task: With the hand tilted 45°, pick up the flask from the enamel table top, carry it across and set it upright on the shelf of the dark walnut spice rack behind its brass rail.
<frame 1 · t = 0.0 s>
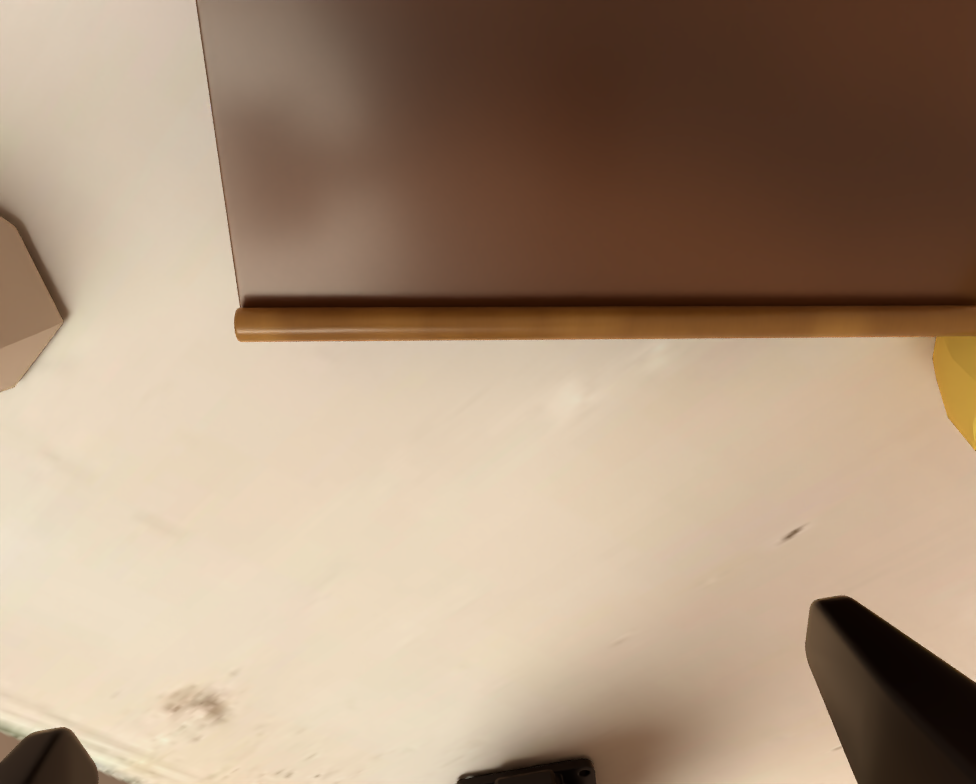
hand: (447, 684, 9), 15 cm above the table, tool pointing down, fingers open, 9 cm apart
spice rack: (612, 75, 19), on the table
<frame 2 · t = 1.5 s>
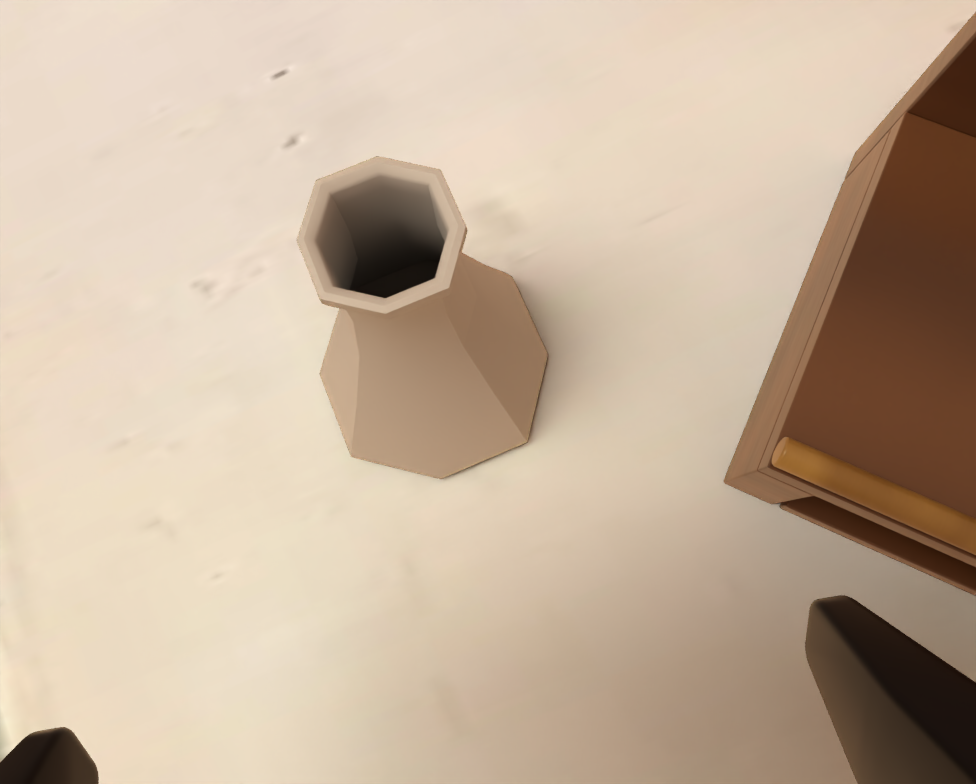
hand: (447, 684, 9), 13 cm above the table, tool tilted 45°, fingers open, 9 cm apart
flask: (435, 368, 24), on the table
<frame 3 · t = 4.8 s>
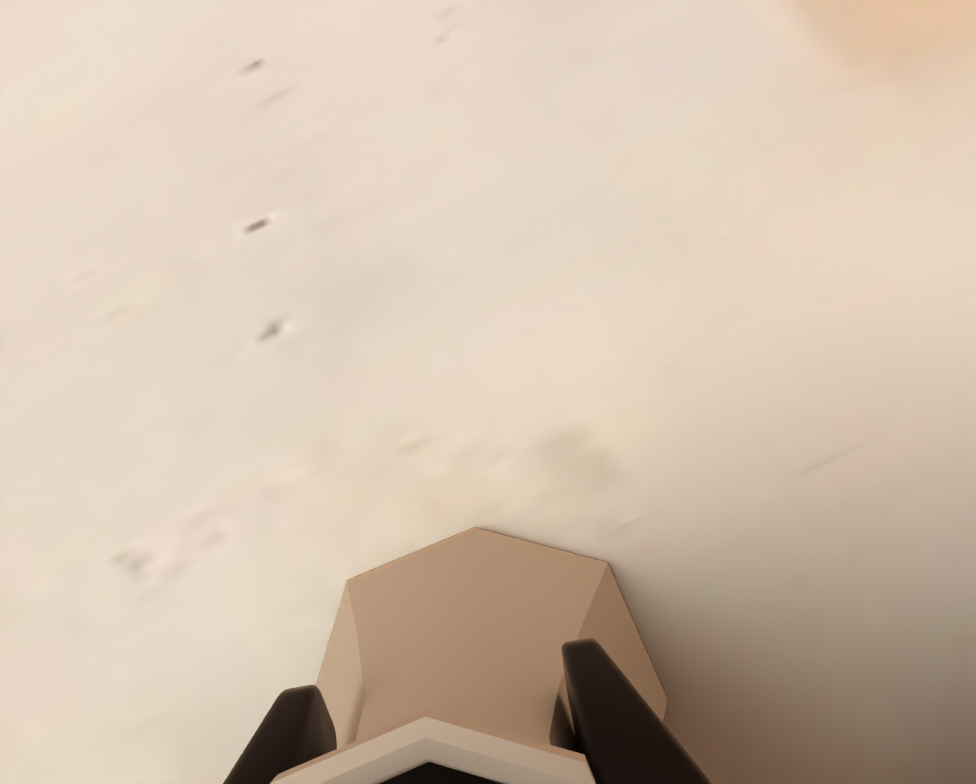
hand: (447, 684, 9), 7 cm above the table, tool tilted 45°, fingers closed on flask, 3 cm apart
flask: (486, 707, 15), on the table, touching gripper
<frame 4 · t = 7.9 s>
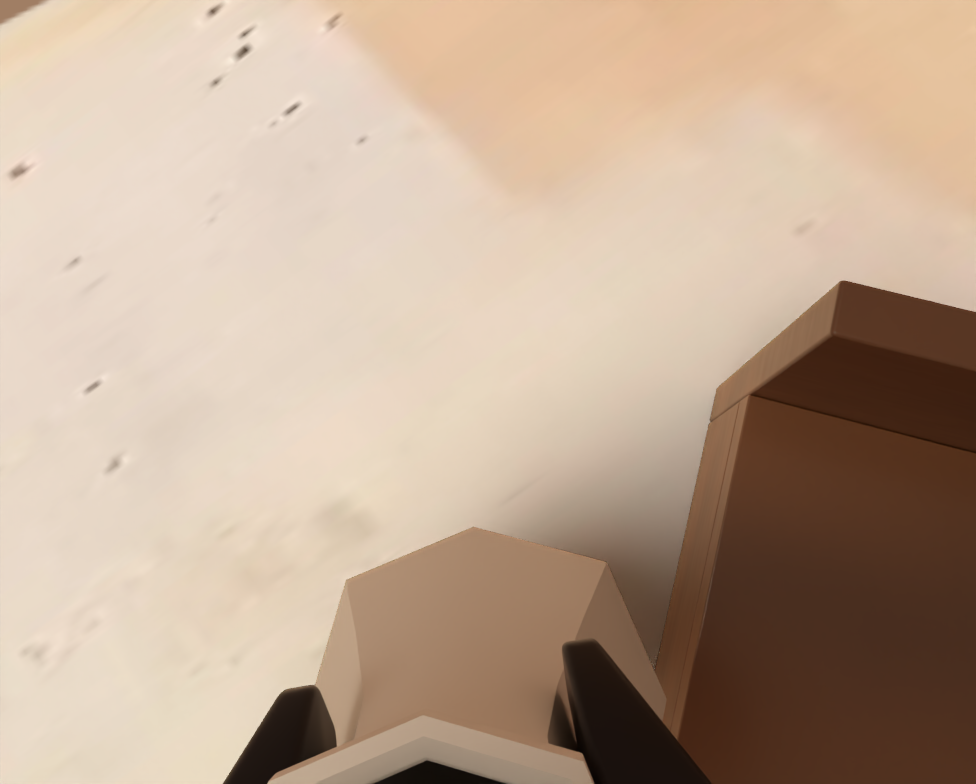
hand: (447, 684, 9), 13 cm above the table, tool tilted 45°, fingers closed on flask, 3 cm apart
flask: (485, 706, 15), point 7 cm above the table, touching gripper
when the fingers open (11 cm above the table, at t = 11.4 s): flask stays where it is, resting on spice rack.
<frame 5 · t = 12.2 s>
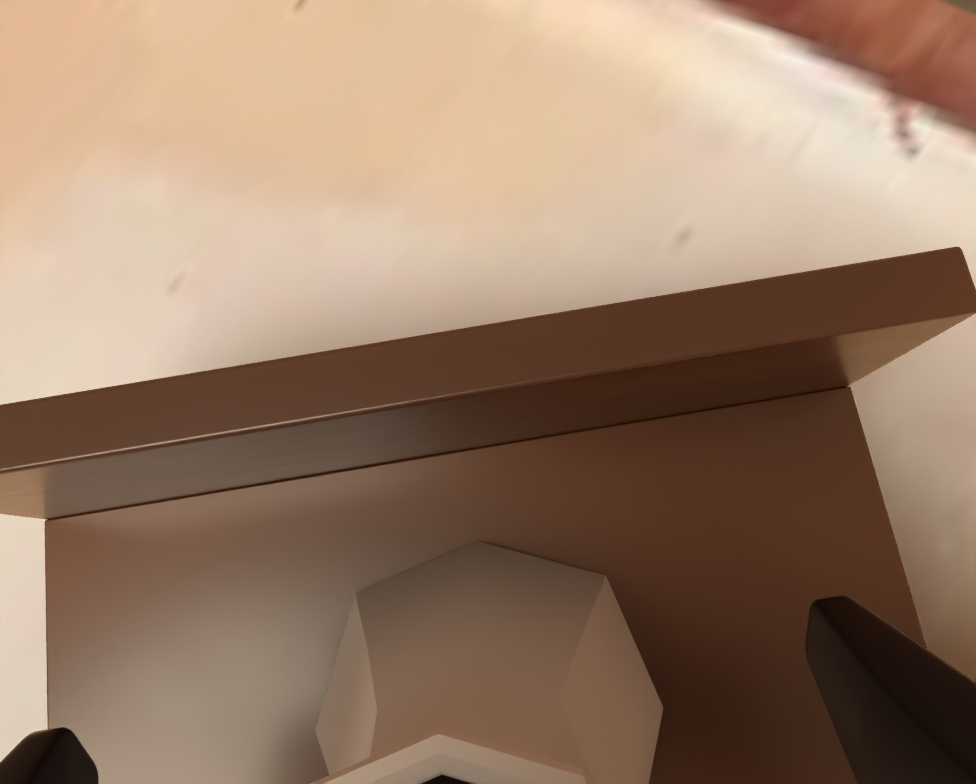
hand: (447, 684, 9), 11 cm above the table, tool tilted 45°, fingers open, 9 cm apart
spice rack: (492, 680, 19), on the table
flask: (489, 714, 16), point 4 cm above the table, touching spice rack
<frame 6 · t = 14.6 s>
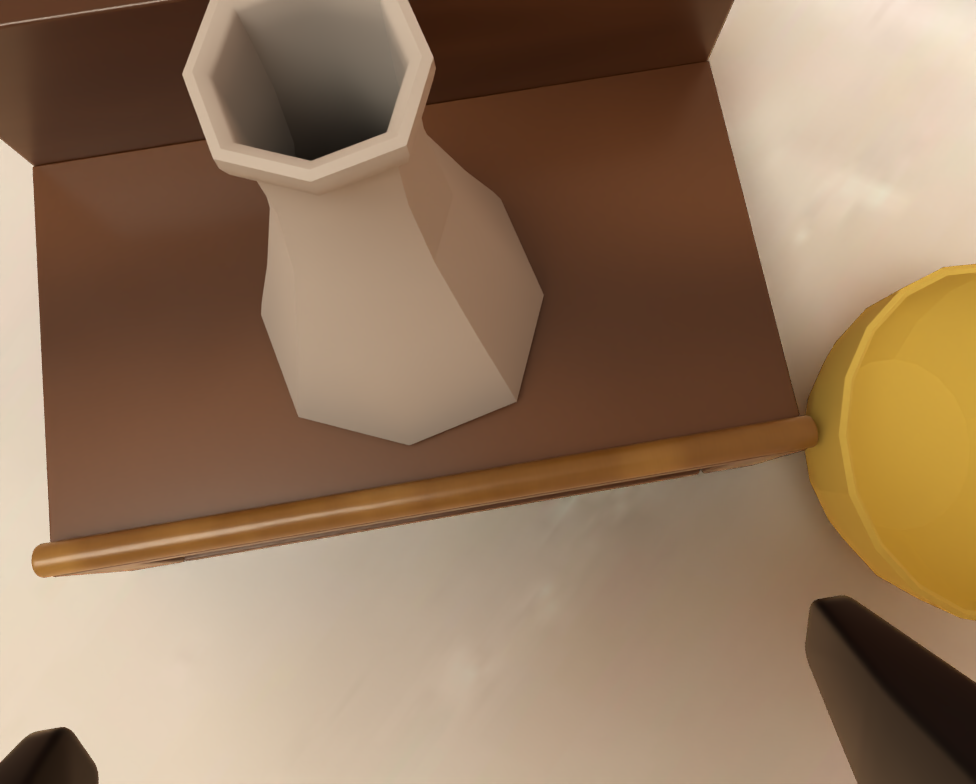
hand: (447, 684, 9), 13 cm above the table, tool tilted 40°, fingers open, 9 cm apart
spice rack: (418, 341, 23), on the table
flask: (404, 310, 19), point 4 cm above the table, touching spice rack
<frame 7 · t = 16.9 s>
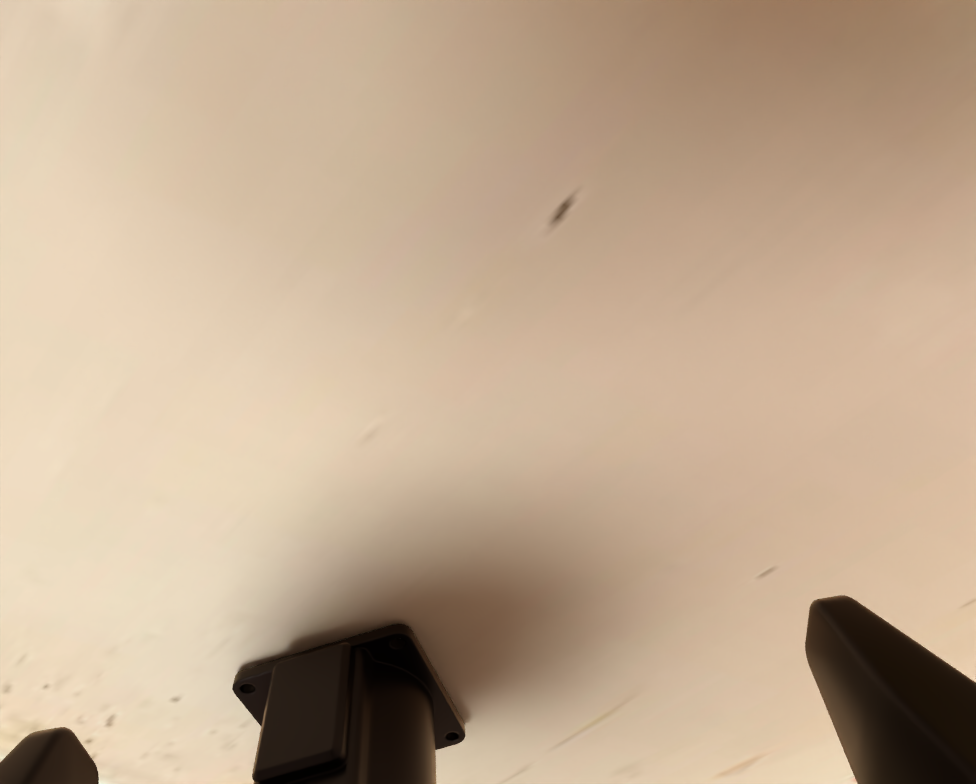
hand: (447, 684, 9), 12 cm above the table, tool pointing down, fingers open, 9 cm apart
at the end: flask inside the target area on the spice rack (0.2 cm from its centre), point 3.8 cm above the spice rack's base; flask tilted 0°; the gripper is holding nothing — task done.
